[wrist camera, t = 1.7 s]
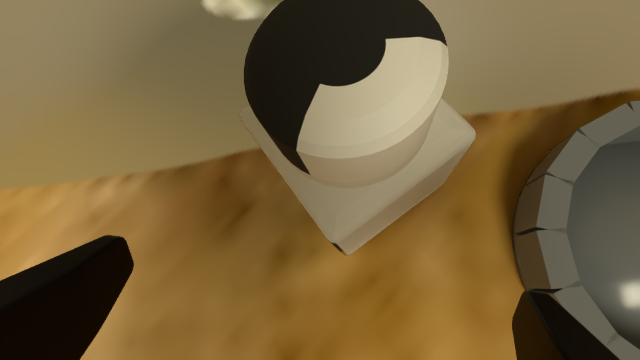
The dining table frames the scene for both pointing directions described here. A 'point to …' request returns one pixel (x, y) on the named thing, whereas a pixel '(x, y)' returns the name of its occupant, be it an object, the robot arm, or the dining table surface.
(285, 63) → the medicine bottle
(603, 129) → the round dish
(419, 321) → the dining table surface
